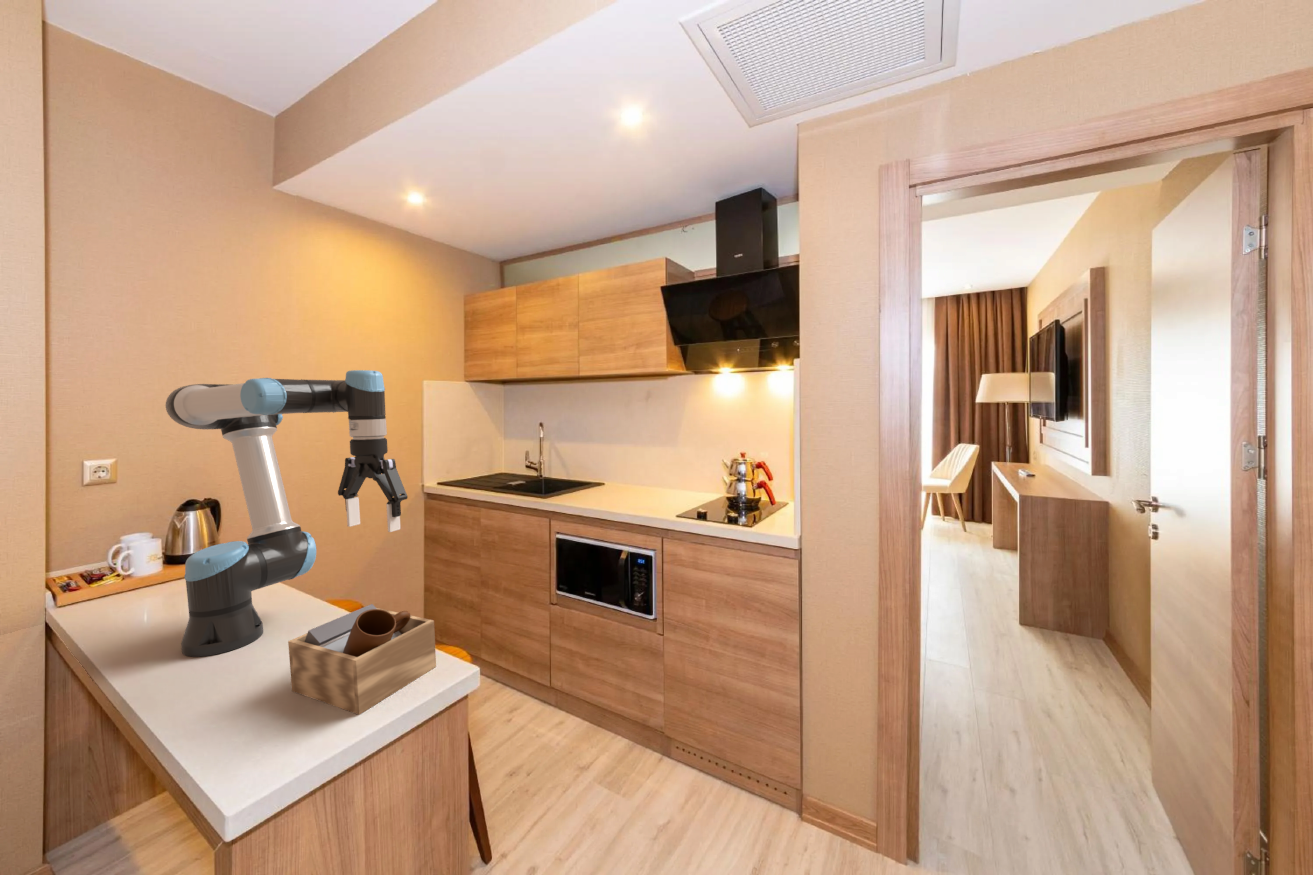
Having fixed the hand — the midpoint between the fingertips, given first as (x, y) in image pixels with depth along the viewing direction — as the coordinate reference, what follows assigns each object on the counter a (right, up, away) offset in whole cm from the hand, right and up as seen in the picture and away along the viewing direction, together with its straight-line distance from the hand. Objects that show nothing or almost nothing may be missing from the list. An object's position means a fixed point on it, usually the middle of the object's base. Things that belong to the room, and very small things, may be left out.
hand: (373, 527), depth 117 cm
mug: (+7, -24, -13) cm, 28 cm away
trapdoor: (+3, -24, -11) cm, 27 cm away
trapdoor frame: (+5, -30, -12) cm, 32 cm away
